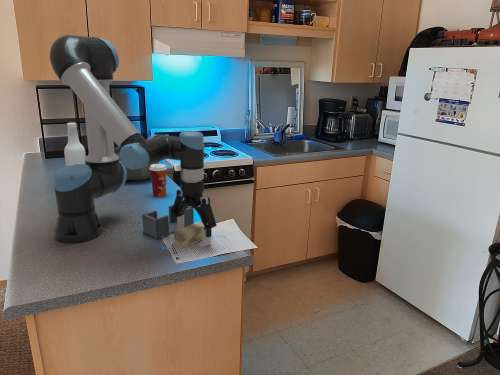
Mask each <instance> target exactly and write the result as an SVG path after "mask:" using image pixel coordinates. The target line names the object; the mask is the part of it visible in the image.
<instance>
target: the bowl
mask: <svg viewBox="0 0 500 375" xmlns="http://www.w3.org/2000/svg"><path fill="white" fill-rule="evenodd" d="M120 150H121V149H120V148H119V147H118V146H117V147H116V146H115V147H114V153H115V154H116V155H117V156H119V153H120ZM119 161H121V159H120V157H119ZM153 164H160V161H159V162H156V163H153ZM153 164H150V165H148V166H146V167H144V168H140V169H135V170H130V169H128V168H126V167H125V168H126V170H127V180H126V181H129V180H130V181H132V180H133V181H143V180H146V179H149V178H150V179H151V172H150V169H149V168H150V166H151V165H153Z"/></svg>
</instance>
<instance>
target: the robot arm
mask: <svg viewBox="0 0 500 375" xmlns="http://www.w3.org/2000/svg"><path fill="white" fill-rule="evenodd" d="M49 62H50V64H51V68H52V70H53V72H54V74H55V75H56V77H57V78H58V79H59V80H60V82H61V83H62V84H63V86H64V85H65V86H69V88H70V89H71V90H72V91H73V92H74V94H75V95H76V97H78V98H79V99H80V100H79V101H81V102H82V103H83V107H84V108H83V109H84V118H85V128H86V129H85V130H86V136H87V137H86V138H87V147H88V148H87V149H88V155H86V158H85V164H75V165H69V166H66V165H65V166H64V167H61V168H59V169H57V171H55V172H54V175H53V188H54V192H55V200H56V208H57V220H56V222H55V223H56V224H55V227H54V237H55V239H56V241H59V242H61V243H67V244H68V243H71V244H72V243H74V244H75V243H81V242H82V243H83V242H86V241H87V242H88V241H91V240H93V239H95V238H97V237H99V236H100V235H101V234H102V233H103V222H102V221H101V219H100V217H99V216H98V213H97V212H96V205H95V200H96V199H99V198H102V197H104V196H106V195H110V194H113V193H115V192H117V191H118V190H120V189H122V188H123V187H124V186H125V184H126V182H127V181H128V180H127V170H126V168H128V169H130V170H135V169H140V168H144V167H146V166H148V165H150V164H153V163H156V162H159V163H160V162H161V161H165V160H174V161H179V164H180V189H177V190H176V196H175V198H174V202H173V204H172V205H173V208H172V213H174V214H175V216H176V224H177V230H178V229H181V228H183V227H184V215H182V214H183V213H184V211H185V210H186V208H187V207H188V206H191V207H192V208H193V210H194V211H196V213H197V214H198V216H199V218H200V221H202V223H203V225H204V228H203V239H202V247H207V246H210V245H211V237H212V236H213V235H212V234H213V233H212V229H213V228H216V227H217V226H218V225H217V221H216V218H215V214H214V212H213V209H212V205H211V199H210V197H209V196H207V197H204V196H203V192H204V191H205V180H204V178H205V164H204V163H205V162H204V160H205V155H204V154H205V152H204V151H205V150H204V149H205V141H204V135H203V132H200V131H198V130H197V131H196V130H195V131H194V130H193V131H191V130H187V131H186V130H185V131H181V132H180V133H179V136H174V135H166V134H165V135H164V134H151V135H149V136H148V137H147V138H145V137H144V136H143V135H142V134H141V133H140V131H139V130H138V129H137V128H136V126H134V124H133V123H132V121H131V120H130V118H128V116H127V115H126V114H125V113H124V112H123V110H122V109H121V108H120V107H119V105H118V104H117V103H116V101H115V100H114V99H113V98H112V97H111V95H110V93H111V92H110V84H111V83H112V82H113V81H114V75H113V74H114V73H115V72H117V70H118V68H119V66H120V57H119V54H118V51H117V49H116V48H115V46H114V45H113V44H112V43H111V42H110V41H109V40H107V39H105V38H100V37H95V36H93V37H92V36H83V35H81V36H79V35H74V34H66V35H62V36H60V37H58V38H57V39H55V41H54V42H53V43H52V44H51V47H50V50H49ZM114 143H115V144H116V146H117V147H119V148H120V149H121V150H120V153H119V156H117V155H116V154H115V153H114V148H115V146H114V145H115V144H114ZM119 157H120V159H121V161H119ZM125 167H126V168H125ZM181 215H182V216H181ZM207 223H208V225H207Z"/></svg>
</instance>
